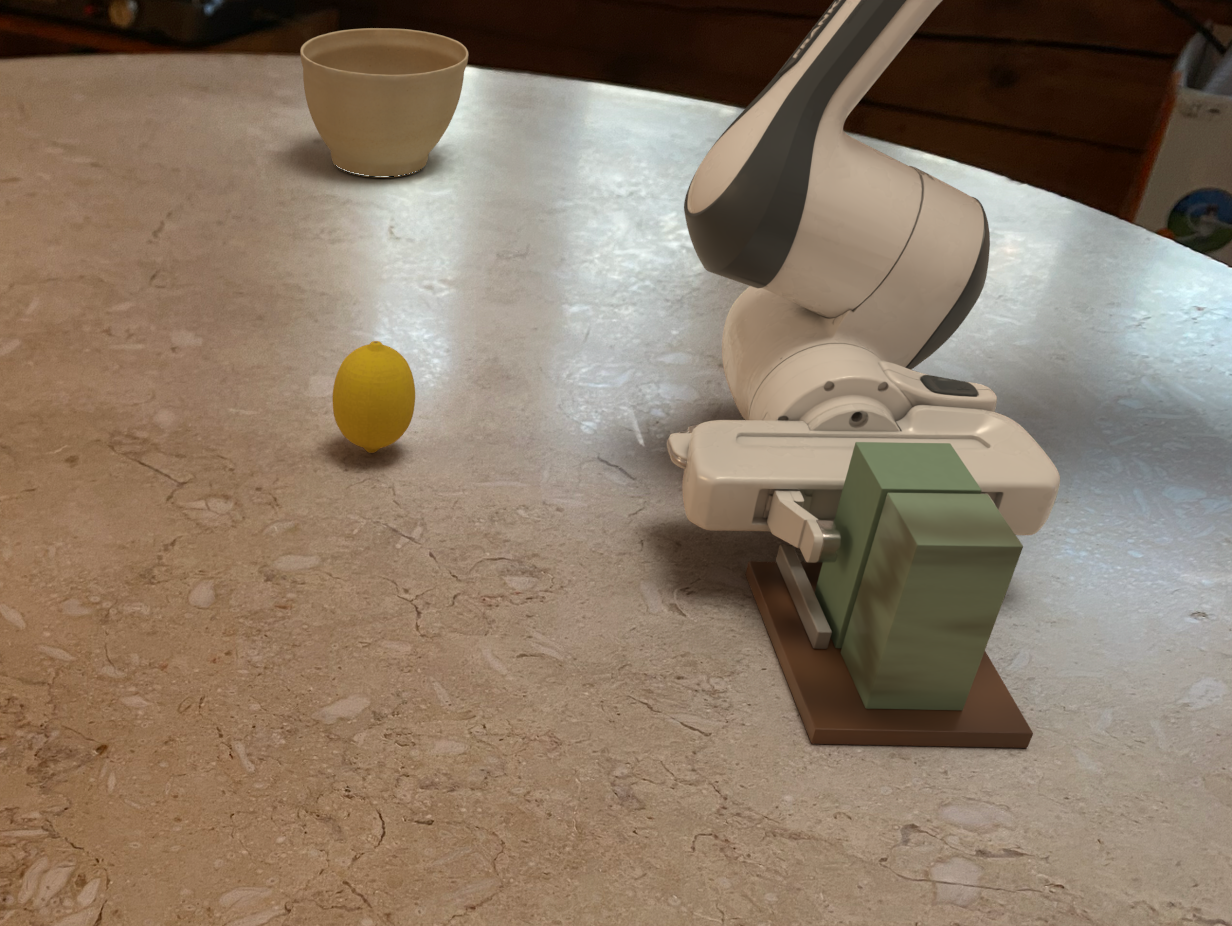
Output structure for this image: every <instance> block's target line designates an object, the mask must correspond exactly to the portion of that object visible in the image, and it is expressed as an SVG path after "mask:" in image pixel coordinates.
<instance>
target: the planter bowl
mask: <svg viewBox="0 0 1232 926" xmlns="http://www.w3.org/2000/svg"><path fill="white" fill-rule="evenodd" d="M299 52H300V62H301V66H302V79H303V80H302V81H303V89H304V96H305V100H306V104H307V108H308V111H309V114H310V116H311V119H312V122H313V124H314V126H315V128H316V131H317V132H318V134H319V136H320V138H321V139H322V141H323V142H324V143H325V145H326V146H327V148H328V149H329V151H330V157H331V162H332V161H333V162H332V164H333V163H334V164H335V165H337V166H338V167H340V168H342V169H345V170H347V171H350V172H354V173H359V174H364V175H369V176H394V177H393V178H399V177H400V176H398V175H402V176H401V177H404V176H409V175H413V174H415V173H416V174H417V173H418V172H420V171H421V170H423V169H424V168H425V167H426V165H427V164H428V160H429V155H430V153H431V152H432V150H433V149H434V148H435V147H436V146H437V145H438V144H439V142H440V140H441V139H442V138H443V136H444V134H445V133H446V131H447V129H449V126H450V124H451V122H452V119H453V118H454V116H455V113H456V110H457V107H458V104H459V102H460V98H461V95H462V89H463V84H464V78H465V77H464V76H465V71H466V68H467V65H468V61H469V50H468V49H467V47H466V46H465V45H464V44H463V43H462V42H460V41H458V40H456V39H454V38H451V37H448V36H445V35H441V34H437V33H433V32H428V31H424V30H423V31H422V30H415V29H407V28H406V29H405V28H392V27H391V28H389V27H388V28H381V27H380V28H379V27H376V28H375V27H374V28H373V27H370V28H369V27H368V28H367V27H366V28H353V29H351V28H350V29H343V30H337V31H332V32H331V31H330V32H328V33H323V34H321V35H320V34H319V35H317V36H315V37H312V38H310V39H308V40H307V41H305V42H304V43H303V44H302V45H301V47H300V51H299ZM334 164H333V165H334ZM335 165H334V166H335ZM424 166H425V167H424ZM423 167H424V168H423ZM422 168H423V169H422ZM420 169H421V170H420ZM418 170H419V171H418ZM415 171H417V172H415ZM343 172H344V173H346V172H345V171H343ZM412 172H414V173H412ZM409 173H411V174H409ZM404 174H407V175H404ZM353 175H355V174H353ZM355 176H356V175H355ZM358 176H359V177H361V176H360V175H358ZM369 176H364V177H366V178H370V177H369ZM378 178H381V179H382V178H385V179H386V178H388V177H378Z"/></svg>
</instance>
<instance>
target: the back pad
mask: <svg viewBox="0 0 1232 926" xmlns="http://www.w3.org/2000/svg"><path fill="white" fill-rule="evenodd" d="M981 491H982V490H981V488H980V487H979V485H978V484H977V482H976V481H975V479H974V478H973V476H972V475H971V473H970V472H969V470H968V469H967V468H966V466H965V465H964V463H963V462H962V460H961V459H960V457H959V456H958V454H957V453H956V451H955V450H954V448H953V447H952V445H951V444H950V443H893V442H856V443H855V446H854V450H853V453H852V457H851V461H850V464H849V468H848V472H847V475H846V479H845V483H844V486H843V490H842V494H841V497H840V501H839V505H838V508H837V512H836V516H835V519H834V522H835V524H836V526H837V529H836V530H838V531H839V532H840V534H841V545H840V548H839V549H838V550H837V551H836V553H837V555H838V556H837V559H836V561H835V562H823V564H822V567H821V571H820V575H819V578H818V582H817V586H816V589H815V595H816V598H817V600H818V602H819V604H820V606H821V609H822V611H823V613H824V615H825V617H826V620H827V622H828V624H829V626H830V629H831V631H832V634H831V639H832V641H833V643H834V646H835V648H842V646H843V642H844V639H845V636H846V632H847V629H848V625H849V622H850V619H851V615H852V612H853V608H854V605H855V602H856V598H857V595H858V591H859V588H860V585H861V581H862V578H863V574H864V571H865V568H866V564H867V561H868V557H869V554H870V551H871V547H872V544H873V540H874V537H875V534H876V530H877V527H878V523H879V520H880V517H881V513H882V510H883V507H884V503H885V500H886V496H887V493H948V494H981Z"/></svg>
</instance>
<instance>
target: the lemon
mask: <svg viewBox="0 0 1232 926" xmlns="http://www.w3.org/2000/svg"><path fill="white" fill-rule="evenodd" d="M332 387H333V388H332V410H333V411H332V413H333V417H334V421H335V423H336V426H337V427H338V429H339V431H340V432H341V434H342V435H343V437H344V438H346V439H347V441H349V442H350V443H351V444H353V445H355V446H357V447H361V448H363V449H364V450H365V451H366V452H367V453H369V454H374V453H377V452H378V451H379V450H380V449H382V448H383V449H384V448H386V447H389V446H391V445H393V444H394V443H395V442H397V441H398V440H399V439H401V438H402V437H403V435H404V434H405V433H406V431H407V430H408V428H409V426H410V425H411V422H412V419H413V416H414V411H415V404H416V385H415V379H414V376H413V372H412V370H411V367H410V365H409V363H408V361H407V359H406V358H405V357H404V356H403V355H402V354H401V353H400V352H399V351H398V350H397V349H395V348H393V347H391V346H388V345H386V344H383V343H382V342H381V341H380V340H373V341H370V343H369V344H365V345H362V346H360V347H358V348H355V349H354V350H353V351H351V352H350V353H349V354H348V355H347V356H345V358H344V359H343V360H342V362H341V364H340V366H339V368H338V370H337V373H336V375H335V378H334V382H333V386H332Z"/></svg>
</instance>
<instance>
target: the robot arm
mask: <svg viewBox="0 0 1232 926" xmlns="http://www.w3.org/2000/svg"><path fill="white" fill-rule="evenodd" d="M942 2H943V0H833V1H832V2H831V4H830V5H829V7H828V8H827V9H826V10H825V11H824V13H823V14H822V16H821V17H819V19H818V21H817V22H816V23H815V24H814V26H812V28H811V30H810V31H809V32H808V33H807V35H806V36H805V37H804V38H803V40H802V41H801V42H800V43H799V45H798V46H797V47H796V49H795V50H794V51H793V53H792V54H791V55H790V56H789V57H788V59H787V60H786V61H785V62H784V64H783V65H782V67H781V68H780V69H779V71H778V72H777V73H776V74H775V75H774V77H773V78H772V79H771V80H770V81H769V82H768V84H767V85H766V86H765V87H764V89H762V90H761V92H759V94H758V95H757V96H756V97H754V99H753V100H752V101H751V102H750V103H749V104H748V105H747V106H746V107H745V108H744V110H743V111H741V113H740V114H739V115H738V116H737V117H736V118H735V119H734V120H733V121H732V122H731V123H730V124H729V125H728V127H727V128H726V129H724V131H723V132H722V134H721V135H720V136H719V137H718V139H717V140H716V141H715V142H714V143H713V145H712V146H711V148H710V149H709V151H708V152H707V153H706V155H705V156H704V158H703V159H702V160H701V163H699V166H698V167H697V169H696V171H695V173H694V174H693V177H692V179H691V181H690V183H689V185H688V188H687V191H686V193H685V198H684V202H683V212H684V218H685V223H686V228H687V232H688V235H689V238H690V241H691V243H692V246H693V249H694V251H695V253H696V255H697V258H698V259H699V261H700V264H701V265H702V267H703V268H704V269H705V270H706V271H707V272H709V273H711V274H714V275H717V276H720V277H724V278H726V279H728V280H731V281H735V282H738V283H741V284H743V285H747V286H748V287H747V288H746V289H745V290H744V291H742V292H741V294H739V296H738V297H737V298H736V299H735V301H734V302H733V304H732V306H731V307H730V309H729V311H728V313H727V316H726V318H725V322H724V325H723V330H722V338H721V339H722V340H721V357H722V367H723V373H724V377H725V381H726V383H727V386H728V389H729V392H730V395H731V396H732V399H733V401H734V403H735V406H736V408H737V410H738V412H739V414H740V415H741V417H742V418H743V419H717V420H716V419H715V420H708V421H707V420H706V421H704V422H700V424H695V425H690V426H688V427H687V429H686V430H684V431H678V432H673V433H671V434H670V435H669V437H668V438H667V440H666V449H667V452H668V455H669V458H670V460H671V462H672V463H673V464H674V465H675V466H677V467H679V468H681V469H683V474H682V475H683V476H682V483H681V485H682V488H681V489H682V500H683V507H684V512H685V515H686V518H687V520H688V521H689V522H690V523H692V524H694V525H696V526H697V527H699V528H700V529H703V530H706V531H710V532H711V531H712V532H716V531H717V532H718V531H719V532H721V531H722V532H723V531H724V532H726V531H727V532H732V531H733V532H770V533H771V534H772V535H773V536H775V537H777V538H778V539H780V540H782V541H784V542H785V543H787V544H788V545H793V547H794V548H797V549H800V552H801V554H802V556H803V558H804V561H805V562H812V563H816V562H817V563H818V562H835V561H836V559H837V556H838V555H837V553H836V551H837V550H838V549H839V548H840V545H841V534H840V532H839V531H838V530H836V529H837V526H836V524H835V522H834V519H835V516H836V512H837V508H838V505H839V501H840V497H841V494H842V490H843V486H844V483H845V479H846V475H847V472H848V468H849V464H850V461H851V457H852V453H853V450H854V446H855V443H856V442H893V443H950V444H951V445H952V447H953V448H954V450H955V451H956V453H957V454H958V456H959V457H960V459H961V460H962V462H963V463H964V465H965V466H966V468H967V469H968V470H969V472H970V473H971V475H972V476H973V478H974V479H975V481H976V482H977V484H978V485H979V487H980V488H981V490H982V491H981V494H988V495H989V497H990V498H991V500H992V501H993V503H994V504H995V506H996V507H997V509H998V510H999V512H1000V513H1001V515H1002V516H1003V517H1004V519H1005V520H1006V522H1007V523H1008V525H1009V526H1010V528H1011V529H1012V531H1013V532H1014V534H1015V535H1016V536H1033V535H1036V534H1037V533H1038V532H1040V530H1041V529H1042V528H1043V527H1044V525H1045V524H1046V522H1047V521H1048V519H1049V517H1050V516H1051V513H1052V510H1053V507H1054V506H1055V503H1056V499H1057V497H1058V493H1059V489H1060V485H1061V476H1060V475H1061V474H1060V472H1059V470H1058V469H1057V466H1056V465H1055V464H1054V462H1053V461H1052V459H1051V458H1050V457H1049V456H1048V454H1047V453H1046V451H1045V450H1044V449H1043V448H1042V447H1041V445H1040V444H1039V443H1038V442H1037V441H1036V440H1035V439H1034V437H1033V436H1032V435H1031V434H1030V433H1029V432H1028V431H1027V430H1026V429H1025V428H1024V427H1023V426H1022V425H1021V424H1019V423H1018V422H1017V421H1015V420H1014V419H1012V418H1010V417H1008V416H1007V415H1004V414H1001V413H999V412H996V408H997V403H998V396H997V395H996V393H995V392H994V391H993V390H992V389H991V388H990V387H989V386H986V385H985V384H981V383H976V382H970V381H966V380H965V381H964V380H958V379H952V378H947V377H941V376H937V375H931V374H927V373H924V372H920V371H916V370H913V369H915V368H916V367H918V365H920V364H921V363H923V362H924V361H925V360H926V359H928V358H930V357H931V356H932V355H933V354H934V353H936V352H937V351H938V350H939V349H940V348H941V347H942V346H943V345H944V344H945V343H947V341H948V340H949V339H950V338H951V337H952V336H953V335H954V334H955V332H956V331H957V330H958V329H959V328H960V327H961V325H962V324H963V323H964V321H965V320H966V318H967V317H968V315H969V314H970V312H971V311H973V308H974V306H976V303H977V301H978V300H979V298H980V296H981V295H982V292H983V289H984V287H985V284H986V279H987V275H988V269H989V262H990V248H991V247H990V246H991V237H990V235H991V234H990V233H991V232H990V226H989V220H988V216H987V214H986V211H985V208H984V206H983V204H982V202H981V201H980V200H979V199H978V198H976V197H974V196H970V195H969V194H967V193H965V192H964V191H963V190H961V189H958V188H956V187H955V186H953V185H950V184H948V183H946V182H945V181H944V180H941V179H940V178H937V177H935V176H933V175H931V174H929V173H928V172H925V171H923V170H922V169H919V168H917V167H916V166H912V165H907V164H906V163H903V162H901V161H900V160H898V159H895V158H894V157H892V156H889V155H888V154H885V153H884V152H882V151H880V150H878V149H876V148H874V147H872V146H870V145H868V144H866V143H864V142H862V141H860V140H859V139H856V138H854V137H852V136H851V135H849V134H847V133H846V132H845V130H844V127H845V122H846V120H847V118H848V116H849V115H850V114H851V112H852V111H853V110H854V109H855V108H856V106H857V105H858V104H859V102H860V101H861V100H862V99H863V98H864V96H865V95H866V94H867V92H869V90H870V89H871V88H872V86H873V85H874V84H875V83H876V82H877V80H878V79H879V78H880V77H881V75H882V74H883V73H884V72H885V71H886V69H887V68H888V67H889V65H890V64H892V62H893V61H894V59H895V58H896V57H897V56H898V54H899V53H900V52H901V51H902V49H903V48H904V47H905V46H906V44H907V43H908V42H909V41H910V40H911V38H912V37H913V36H914V35H915V33H917V31H918V30H919V28H920V27H921V26H922V25H923V23H924V22H925V21H926V20H927V19H928V17H930V15H931V14H932V12H934V10H935V9H936V8H937V7H938V6H939V5H940V4H941V3H942Z"/></svg>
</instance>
